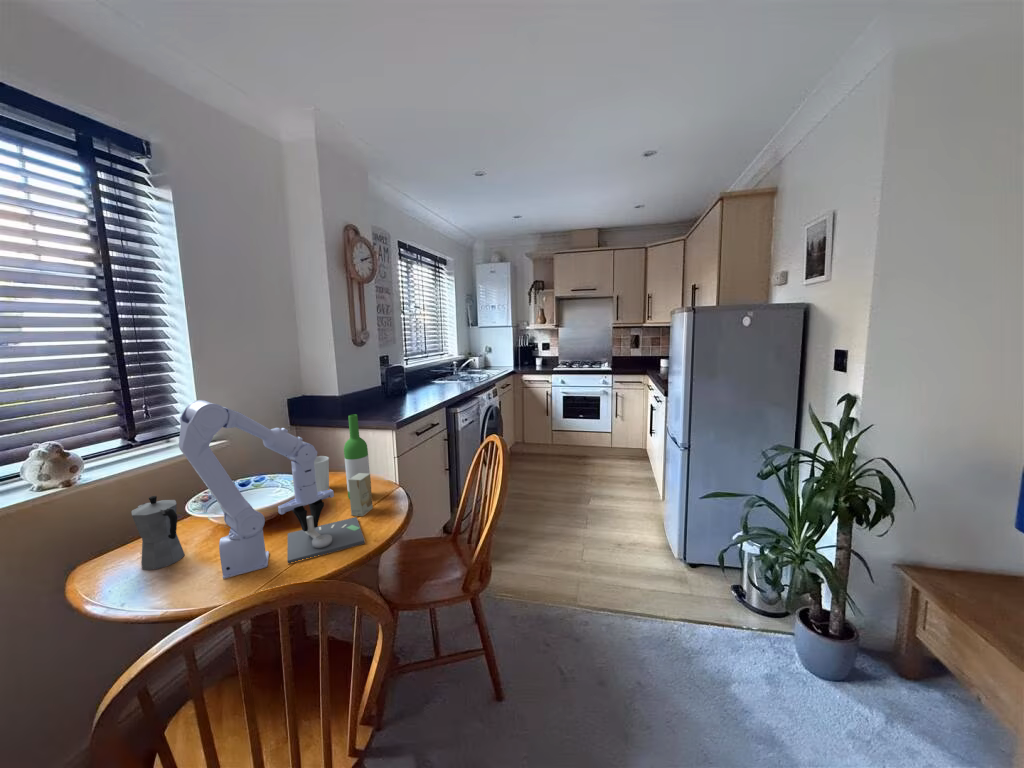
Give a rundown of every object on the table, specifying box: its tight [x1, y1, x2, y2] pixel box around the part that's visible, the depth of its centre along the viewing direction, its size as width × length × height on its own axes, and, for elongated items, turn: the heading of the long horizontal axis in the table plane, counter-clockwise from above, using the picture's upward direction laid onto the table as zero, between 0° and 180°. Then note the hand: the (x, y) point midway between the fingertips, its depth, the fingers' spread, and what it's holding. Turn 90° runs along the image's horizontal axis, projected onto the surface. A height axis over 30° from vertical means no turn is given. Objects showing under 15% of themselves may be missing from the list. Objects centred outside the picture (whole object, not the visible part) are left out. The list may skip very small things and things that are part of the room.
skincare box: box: [349, 473, 374, 517], centre depth 132 cm, size 6×4×12 cm
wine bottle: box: [343, 413, 371, 500], centre depth 141 cm, size 8×8×30 cm
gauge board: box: [286, 516, 366, 564], centre depth 115 cm, size 19×16×1 cm
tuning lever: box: [306, 515, 332, 548], centre depth 114 cm, size 14×5×5 cm, turn 49°
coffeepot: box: [131, 495, 185, 571], centre depth 106 cm, size 15×9×18 cm, turn 67°
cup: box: [314, 455, 330, 492], centre depth 150 cm, size 8×8×12 cm
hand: (310, 528), depth 116 cm, fingers open, 2 cm apart
